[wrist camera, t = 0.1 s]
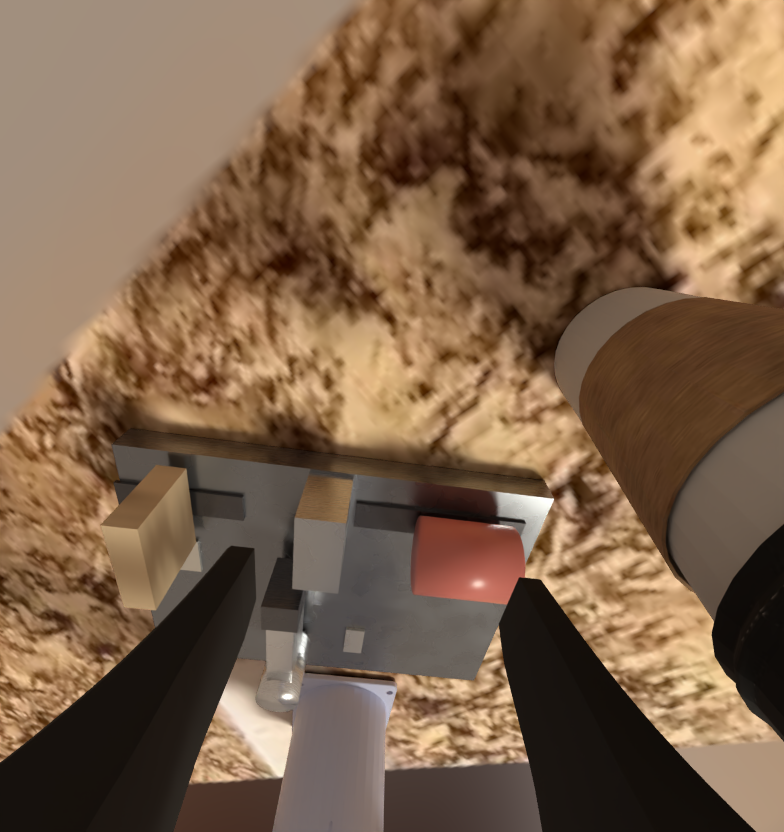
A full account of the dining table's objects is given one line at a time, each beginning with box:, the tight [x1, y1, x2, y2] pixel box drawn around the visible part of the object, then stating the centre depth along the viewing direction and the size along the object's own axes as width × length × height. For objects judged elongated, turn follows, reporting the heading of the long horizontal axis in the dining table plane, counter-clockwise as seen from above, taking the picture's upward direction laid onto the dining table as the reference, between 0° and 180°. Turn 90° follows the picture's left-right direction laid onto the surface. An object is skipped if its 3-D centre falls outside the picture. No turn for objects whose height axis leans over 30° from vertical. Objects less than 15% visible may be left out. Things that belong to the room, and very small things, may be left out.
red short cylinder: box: [410, 515, 525, 605], centre depth 19 cm, size 4×5×4 cm
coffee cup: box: [554, 287, 784, 741], centre depth 11 cm, size 8×8×15 cm
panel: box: [112, 429, 554, 680], centre depth 23 cm, size 17×22×5 cm
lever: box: [256, 557, 310, 712], centre depth 22 cm, size 9×2×4 cm, turn 172°
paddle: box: [100, 465, 196, 610], centre depth 18 cm, size 5×1×4 cm, turn 172°
